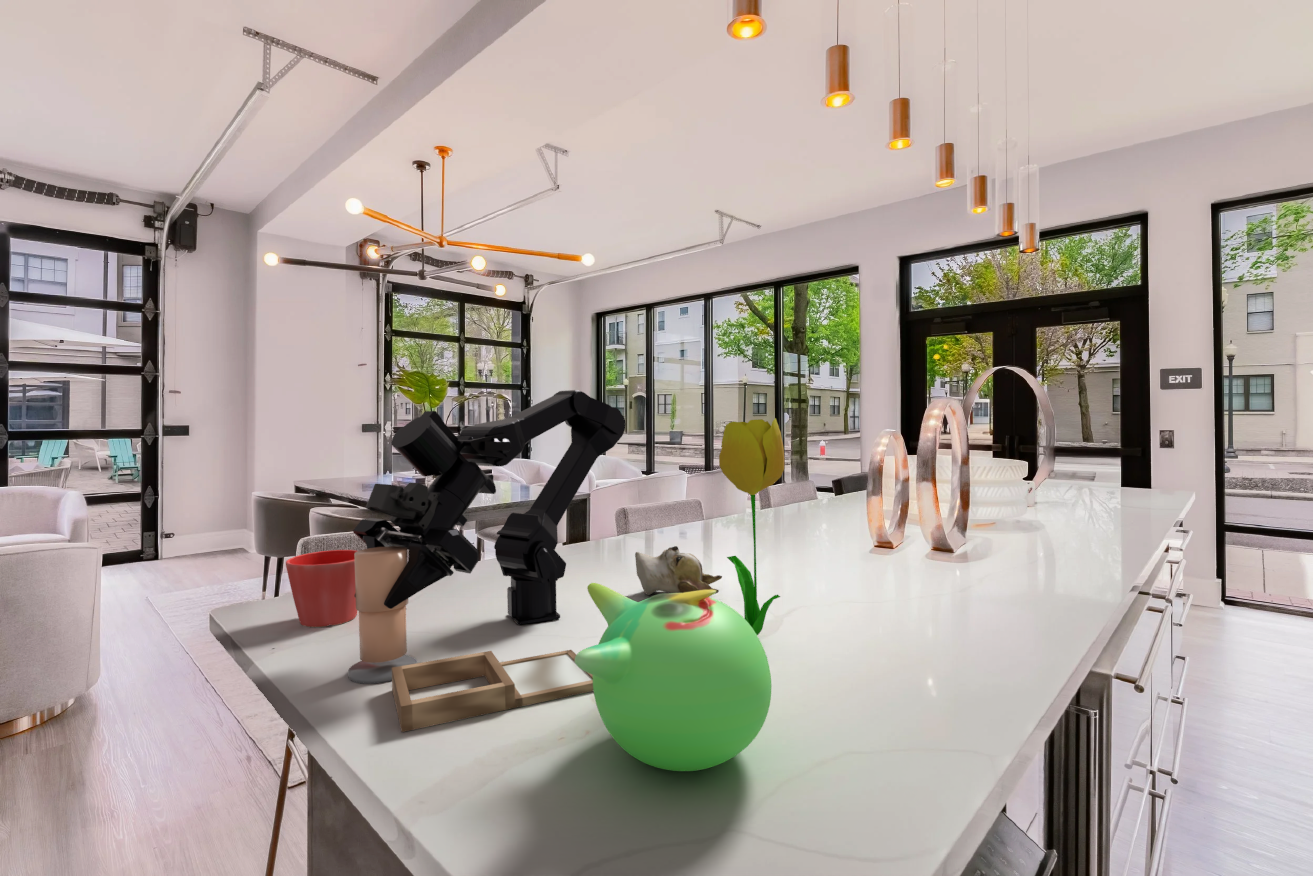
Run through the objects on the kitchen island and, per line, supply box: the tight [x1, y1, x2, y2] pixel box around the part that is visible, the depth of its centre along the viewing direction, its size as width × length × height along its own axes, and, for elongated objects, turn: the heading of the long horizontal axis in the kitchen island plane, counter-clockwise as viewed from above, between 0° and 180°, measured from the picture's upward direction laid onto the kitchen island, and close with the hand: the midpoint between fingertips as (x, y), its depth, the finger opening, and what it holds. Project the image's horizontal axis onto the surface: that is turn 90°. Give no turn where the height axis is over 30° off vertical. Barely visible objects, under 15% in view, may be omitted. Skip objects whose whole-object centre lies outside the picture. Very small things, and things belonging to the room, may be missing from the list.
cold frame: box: [391, 649, 594, 733], centre depth 71 cm, size 21×11×2 cm, turn 117°
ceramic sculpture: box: [634, 545, 723, 596], centre depth 109 cm, size 11×9×15 cm
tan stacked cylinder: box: [354, 546, 409, 663], centre depth 76 cm, size 6×6×12 cm
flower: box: [718, 417, 786, 636], centre depth 85 cm, size 9×8×30 cm
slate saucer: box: [347, 654, 418, 685], centre depth 76 cm, size 8×8×1 cm
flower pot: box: [285, 549, 359, 628], centre depth 97 cm, size 11×11×10 cm
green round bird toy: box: [575, 582, 772, 772], centre depth 57 cm, size 18×17×15 cm
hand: (371, 602), depth 75 cm, fingers closed on tan stacked cylinder, 6 cm apart
